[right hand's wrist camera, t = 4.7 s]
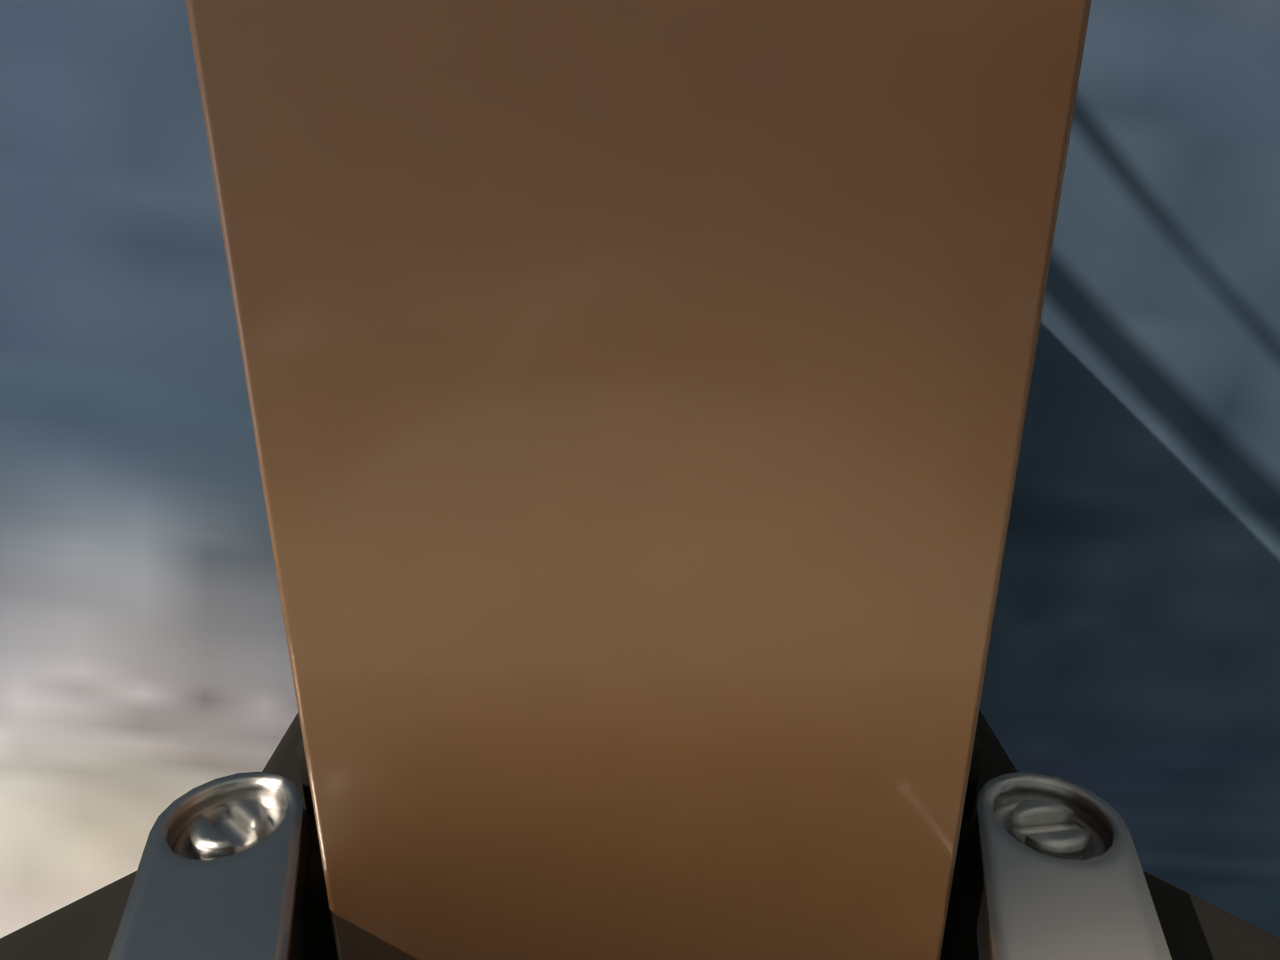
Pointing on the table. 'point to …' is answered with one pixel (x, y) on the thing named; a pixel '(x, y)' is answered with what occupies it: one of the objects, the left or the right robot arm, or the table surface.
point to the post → (638, 447)
